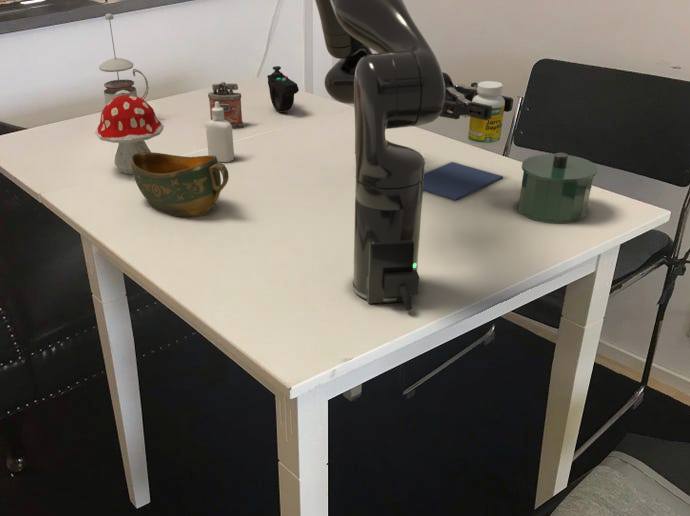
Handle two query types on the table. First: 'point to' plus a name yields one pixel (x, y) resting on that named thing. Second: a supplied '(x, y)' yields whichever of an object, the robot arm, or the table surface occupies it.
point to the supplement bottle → (491, 129)
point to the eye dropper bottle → (219, 136)
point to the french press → (118, 85)
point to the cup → (179, 182)
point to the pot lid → (559, 167)
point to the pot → (554, 199)
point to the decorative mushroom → (128, 128)
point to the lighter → (227, 102)
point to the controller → (281, 90)
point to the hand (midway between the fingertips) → (501, 109)
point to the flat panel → (457, 180)
